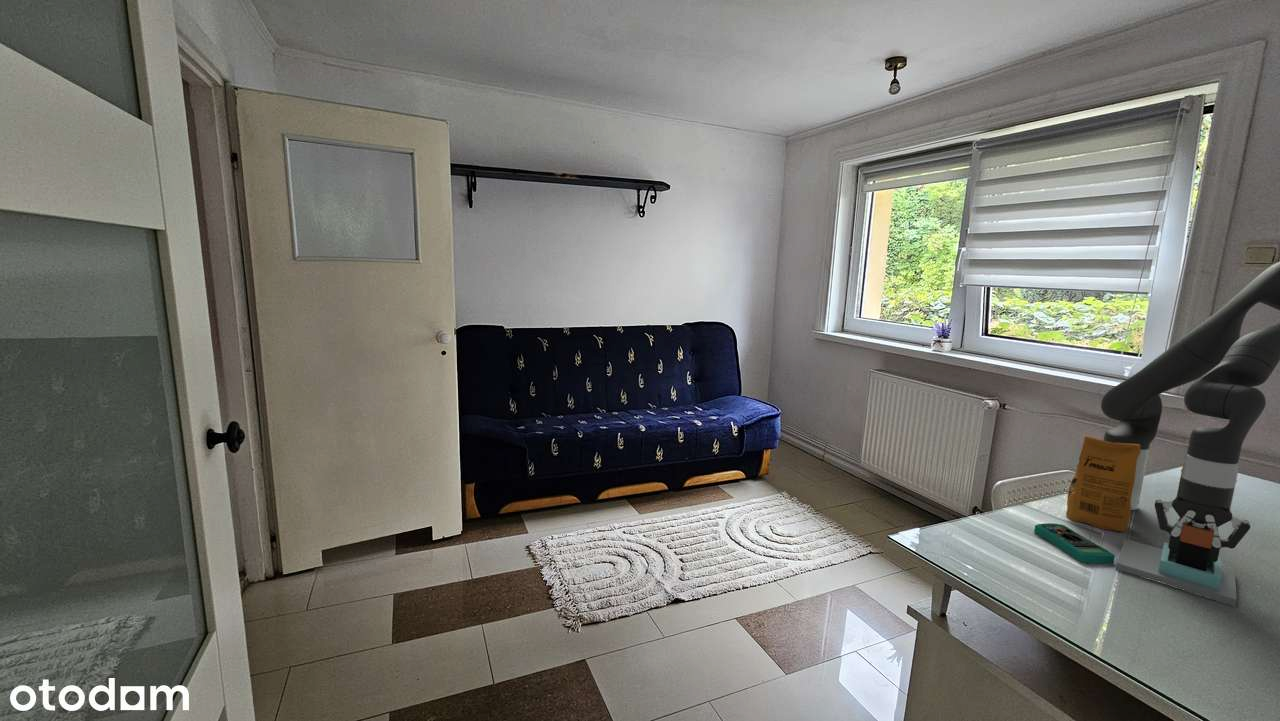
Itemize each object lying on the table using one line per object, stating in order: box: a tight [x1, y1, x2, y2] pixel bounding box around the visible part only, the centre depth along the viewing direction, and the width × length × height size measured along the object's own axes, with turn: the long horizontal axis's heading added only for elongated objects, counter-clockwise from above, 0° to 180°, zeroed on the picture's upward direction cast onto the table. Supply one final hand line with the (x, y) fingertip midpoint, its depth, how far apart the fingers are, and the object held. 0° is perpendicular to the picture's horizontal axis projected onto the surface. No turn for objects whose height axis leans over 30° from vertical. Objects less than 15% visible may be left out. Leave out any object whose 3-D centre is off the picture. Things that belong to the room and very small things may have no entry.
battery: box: [1175, 520, 1214, 572], centre depth 107 cm, size 4×7×10 cm, turn 134°
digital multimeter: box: [1034, 522, 1116, 565], centre depth 120 cm, size 7×15×3 cm, turn 0°
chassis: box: [1115, 538, 1238, 608], centre depth 110 cm, size 17×16×4 cm
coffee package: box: [1065, 435, 1141, 533], centre depth 132 cm, size 10×12×22 cm
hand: (1191, 556), depth 108 cm, fingers closed on battery, 4 cm apart
